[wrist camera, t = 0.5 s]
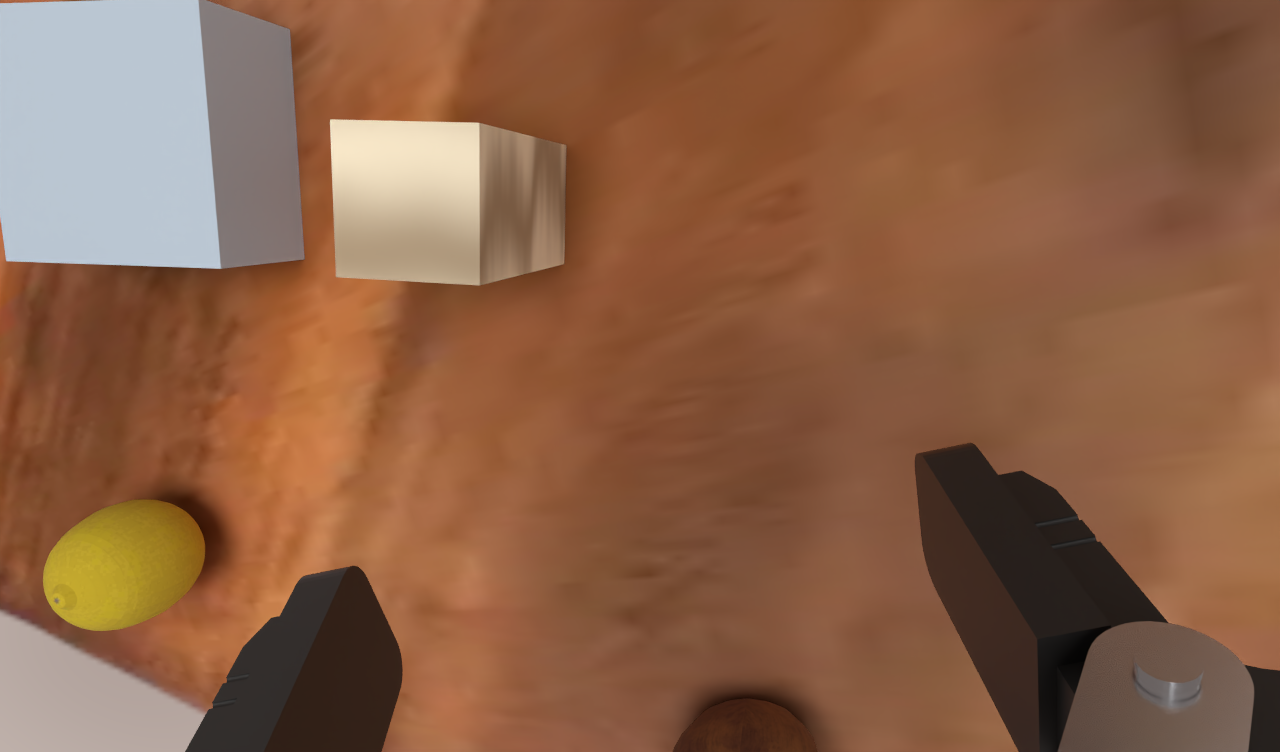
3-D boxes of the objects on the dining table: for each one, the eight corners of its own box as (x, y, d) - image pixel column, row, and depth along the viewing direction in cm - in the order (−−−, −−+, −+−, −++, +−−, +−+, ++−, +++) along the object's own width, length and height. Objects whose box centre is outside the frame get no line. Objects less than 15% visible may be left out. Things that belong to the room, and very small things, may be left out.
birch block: (454, 142, 36) (330, 119, 27) (566, 145, 35) (479, 122, 26) (455, 258, 37) (336, 277, 28) (564, 264, 36) (479, 285, 27)
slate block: (95, 34, 39) (-29, 4, 33) (292, 30, 37) (198, -3, 31) (119, 253, 41) (6, 260, 35) (307, 259, 39) (221, 268, 33)
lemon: (209, 464, 42) (76, 523, 34) (256, 563, 42) (135, 643, 35) (125, 496, 43) (-22, 560, 35) (171, 592, 44) (37, 675, 36)
